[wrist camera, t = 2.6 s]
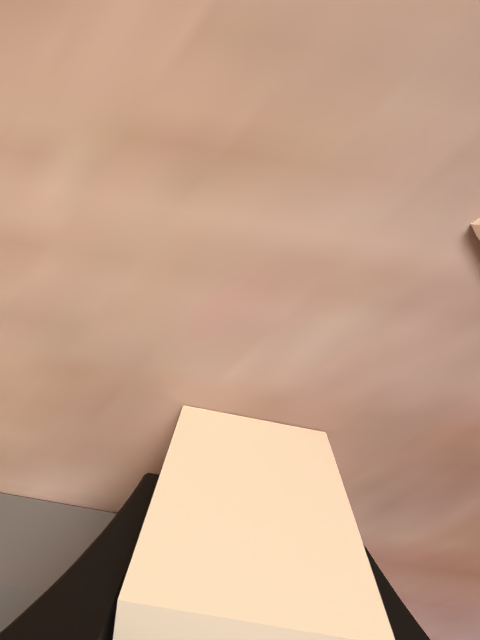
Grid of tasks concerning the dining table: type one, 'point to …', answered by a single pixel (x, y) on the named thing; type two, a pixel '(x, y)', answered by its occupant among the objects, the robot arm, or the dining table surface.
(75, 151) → the dining table surface
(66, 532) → the base plinth
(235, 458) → the cream block
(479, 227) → the photo frame
